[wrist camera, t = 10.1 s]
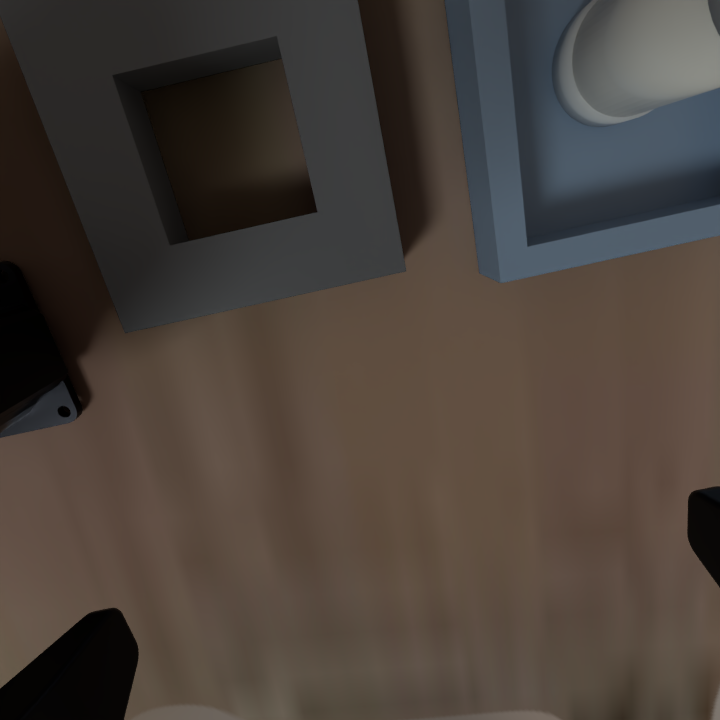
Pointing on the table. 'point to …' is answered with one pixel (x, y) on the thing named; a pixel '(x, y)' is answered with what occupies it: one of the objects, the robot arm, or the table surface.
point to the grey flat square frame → (145, 165)
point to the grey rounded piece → (635, 57)
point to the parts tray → (569, 152)
